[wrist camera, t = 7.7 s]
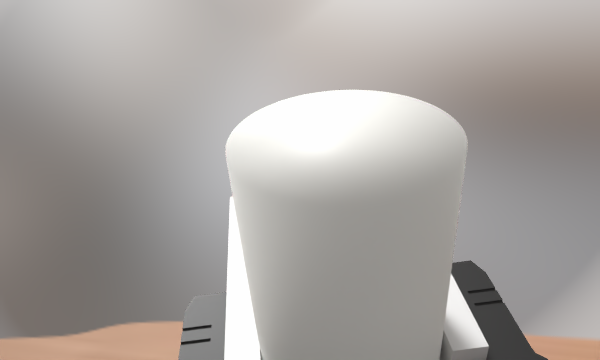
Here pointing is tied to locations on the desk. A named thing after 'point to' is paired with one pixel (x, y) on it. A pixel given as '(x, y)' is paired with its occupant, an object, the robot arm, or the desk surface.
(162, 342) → the desk surface
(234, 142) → the cylinder
